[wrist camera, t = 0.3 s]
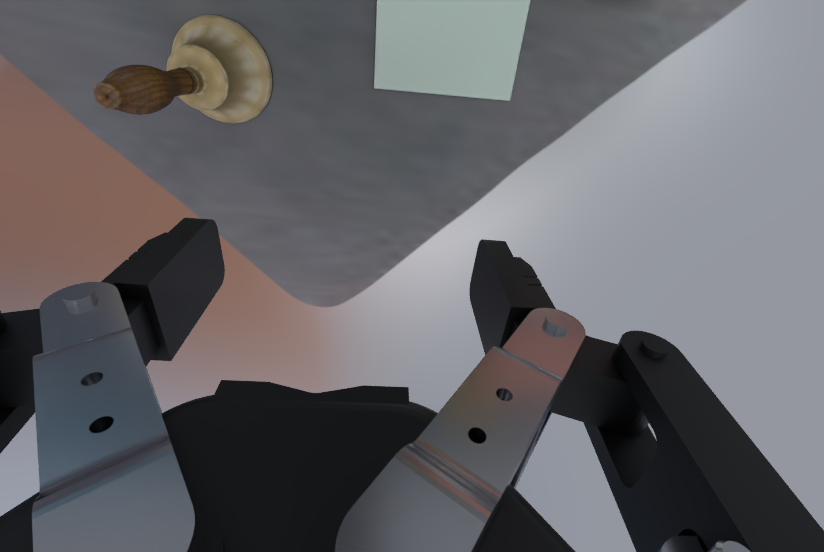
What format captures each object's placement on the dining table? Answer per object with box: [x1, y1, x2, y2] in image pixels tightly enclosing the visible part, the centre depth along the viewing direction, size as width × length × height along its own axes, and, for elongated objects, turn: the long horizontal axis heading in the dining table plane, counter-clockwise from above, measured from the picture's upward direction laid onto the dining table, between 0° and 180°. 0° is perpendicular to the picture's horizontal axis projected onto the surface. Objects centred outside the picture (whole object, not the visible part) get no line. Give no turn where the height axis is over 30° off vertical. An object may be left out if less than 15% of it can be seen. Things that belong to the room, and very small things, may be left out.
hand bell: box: [93, 15, 272, 123], centre depth 27 cm, size 8×8×16 cm
